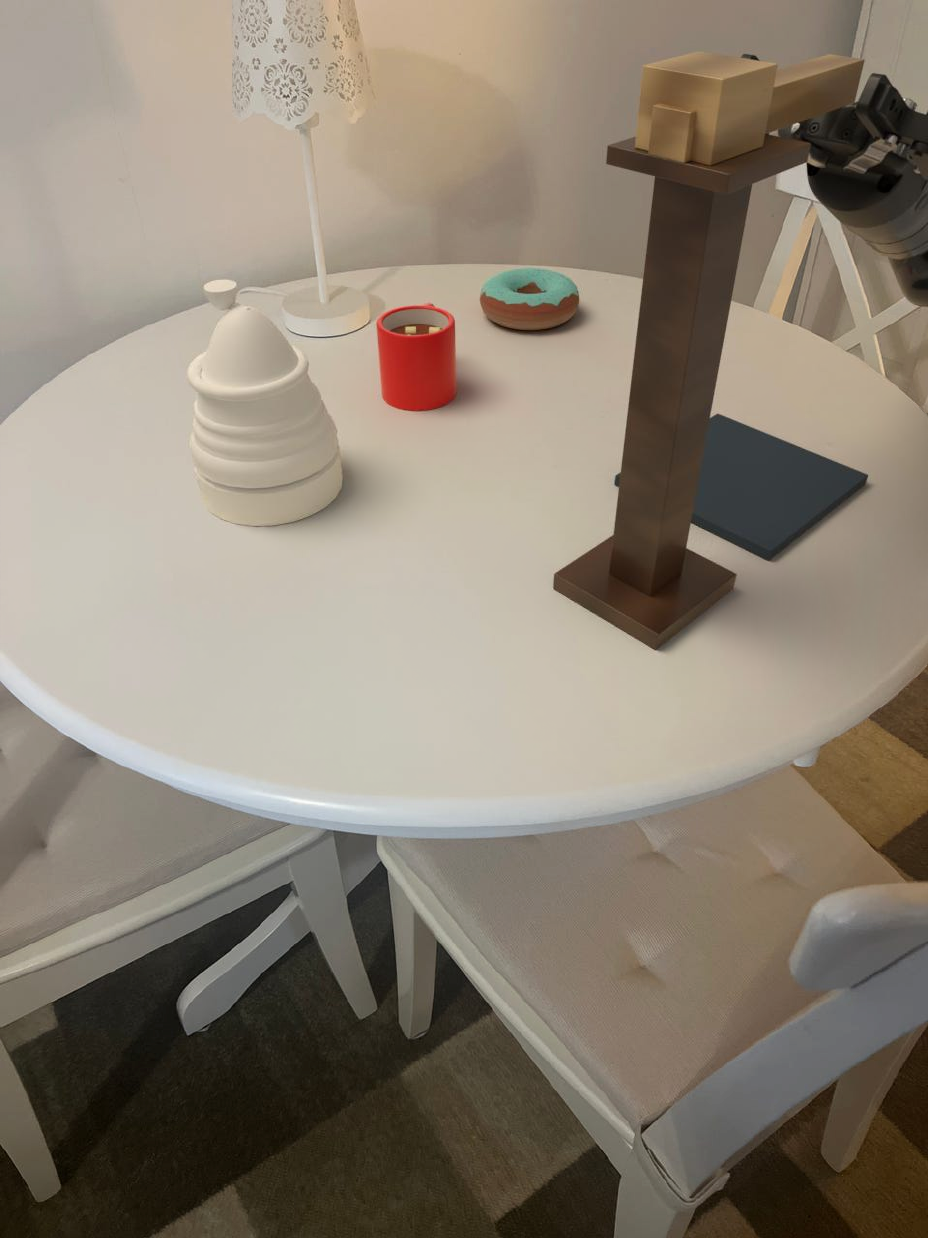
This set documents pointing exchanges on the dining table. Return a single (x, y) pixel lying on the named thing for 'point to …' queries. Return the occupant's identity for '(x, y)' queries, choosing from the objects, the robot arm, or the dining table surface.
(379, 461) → the dining table surface
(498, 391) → the dining table surface
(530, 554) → the dining table surface
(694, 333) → the brown pedestal stand
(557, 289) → the donut
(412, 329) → the mug
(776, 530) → the mat
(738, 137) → the light wood mallet shape
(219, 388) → the honey pot
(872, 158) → the robot arm
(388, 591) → the dining table surface
